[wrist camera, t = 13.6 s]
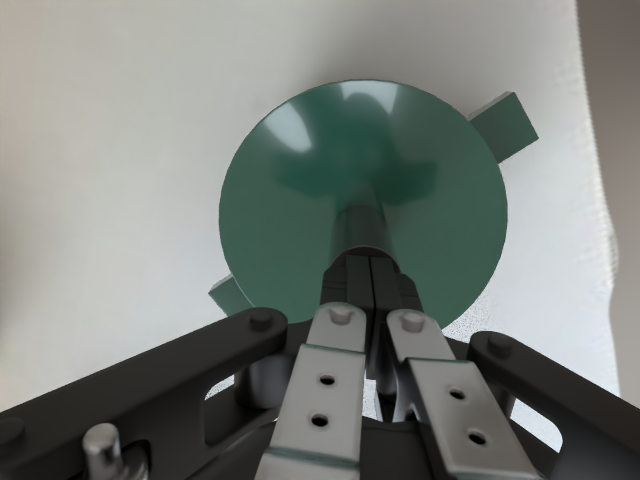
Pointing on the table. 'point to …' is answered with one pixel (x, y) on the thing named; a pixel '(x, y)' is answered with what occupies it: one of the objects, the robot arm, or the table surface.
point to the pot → (496, 129)
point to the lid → (363, 198)
